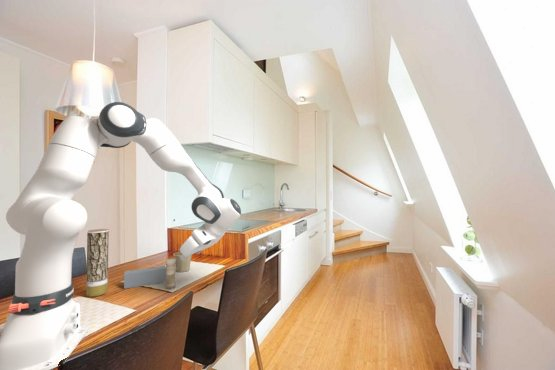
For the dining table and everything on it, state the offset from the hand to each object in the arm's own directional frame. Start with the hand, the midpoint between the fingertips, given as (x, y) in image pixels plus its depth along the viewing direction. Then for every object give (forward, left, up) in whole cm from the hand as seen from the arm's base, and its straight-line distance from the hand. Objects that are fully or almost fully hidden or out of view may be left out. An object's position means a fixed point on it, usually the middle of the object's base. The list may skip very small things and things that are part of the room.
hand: (189, 255), depth 102 cm
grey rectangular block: (+16, +15, -14) cm, 27 cm away
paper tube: (+13, +32, -14) cm, 38 cm away
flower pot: (+27, -2, -14) cm, 31 cm away
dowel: (+6, +6, -14) cm, 17 cm away
